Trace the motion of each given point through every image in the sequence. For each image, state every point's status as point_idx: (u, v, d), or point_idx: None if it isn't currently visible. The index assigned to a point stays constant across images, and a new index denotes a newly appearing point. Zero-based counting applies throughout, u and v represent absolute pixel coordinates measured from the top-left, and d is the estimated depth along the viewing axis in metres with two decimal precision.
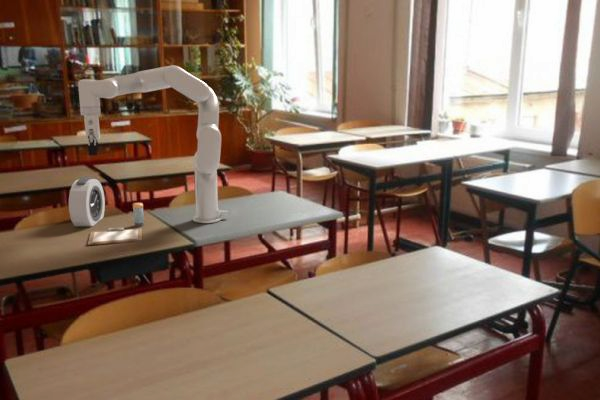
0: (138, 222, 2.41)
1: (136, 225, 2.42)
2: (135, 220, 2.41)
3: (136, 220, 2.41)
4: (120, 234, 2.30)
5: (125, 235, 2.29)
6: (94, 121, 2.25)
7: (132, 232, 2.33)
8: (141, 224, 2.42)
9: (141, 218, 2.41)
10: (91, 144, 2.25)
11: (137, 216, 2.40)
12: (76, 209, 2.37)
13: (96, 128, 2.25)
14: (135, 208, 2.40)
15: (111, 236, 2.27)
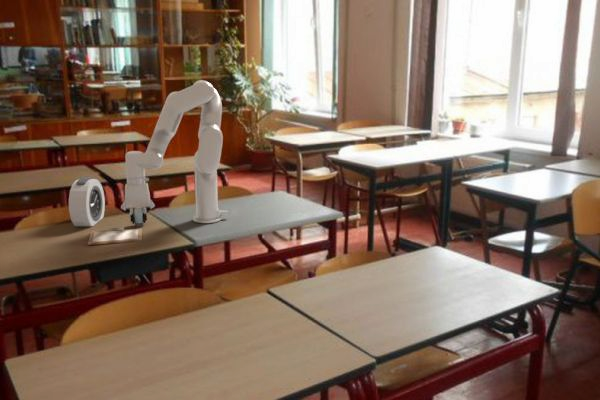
0: (138, 222, 2.41)
1: (136, 225, 2.42)
2: (135, 220, 2.41)
3: (136, 220, 2.41)
4: (120, 234, 2.30)
5: (125, 235, 2.29)
6: None
7: (132, 232, 2.33)
8: (141, 224, 2.42)
9: (141, 218, 2.41)
10: None
11: (137, 216, 2.40)
12: (76, 209, 2.37)
13: None
14: (135, 208, 2.40)
15: (111, 236, 2.27)
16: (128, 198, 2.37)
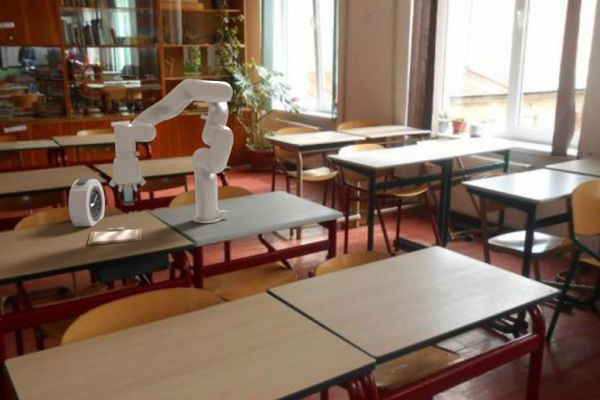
0: (128, 200, 2.25)
1: (126, 203, 2.25)
2: (124, 197, 2.25)
3: (125, 198, 2.25)
4: (120, 234, 2.30)
5: (125, 235, 2.29)
6: None
7: (132, 232, 2.33)
8: (131, 202, 2.26)
9: (131, 195, 2.25)
10: None
11: (127, 193, 2.24)
12: (76, 209, 2.37)
13: None
14: (124, 184, 2.23)
15: (111, 236, 2.27)
16: (116, 174, 2.21)
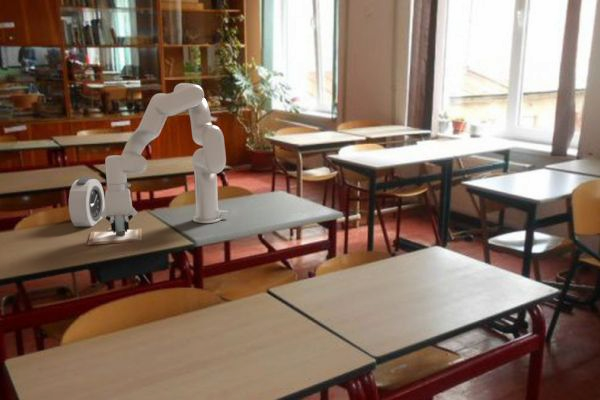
0: (119, 230, 2.27)
1: (117, 233, 2.27)
2: (116, 228, 2.27)
3: (117, 228, 2.27)
4: None
5: (125, 235, 2.29)
6: (130, 194, 2.28)
7: (132, 232, 2.33)
8: (122, 232, 2.28)
9: (122, 226, 2.27)
10: (129, 220, 2.29)
11: (118, 224, 2.26)
12: (76, 209, 2.37)
13: None
14: (116, 215, 2.25)
15: (111, 236, 2.27)
16: (108, 206, 2.23)
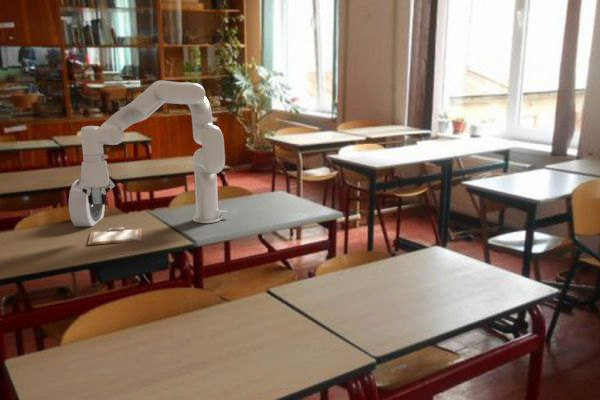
0: (96, 203, 2.22)
1: (95, 206, 2.23)
2: (93, 201, 2.22)
3: (94, 201, 2.22)
4: (120, 234, 2.30)
5: (125, 235, 2.29)
6: (107, 166, 2.23)
7: (132, 232, 2.33)
8: (100, 205, 2.23)
9: (99, 198, 2.22)
10: (106, 192, 2.24)
11: (95, 196, 2.21)
12: (76, 209, 2.37)
13: None
14: (93, 187, 2.21)
15: (111, 236, 2.27)
16: (84, 177, 2.18)
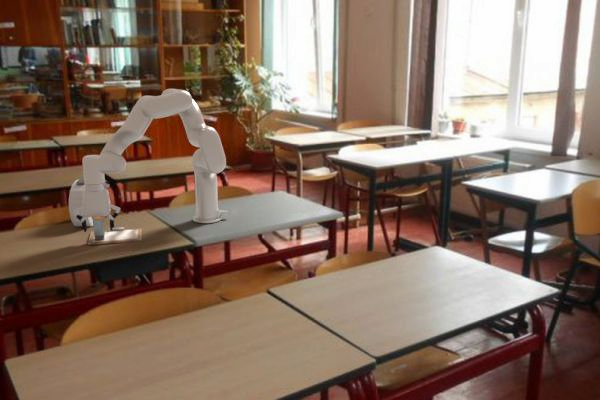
0: (98, 235, 2.21)
1: (96, 238, 2.22)
2: (95, 232, 2.21)
3: (95, 233, 2.21)
4: (120, 234, 2.30)
5: (125, 235, 2.29)
6: None
7: (132, 232, 2.33)
8: (101, 237, 2.22)
9: (101, 230, 2.21)
10: (114, 218, 2.23)
11: (97, 228, 2.20)
12: None
13: None
14: (94, 219, 2.20)
15: (111, 236, 2.27)
16: (85, 207, 2.17)
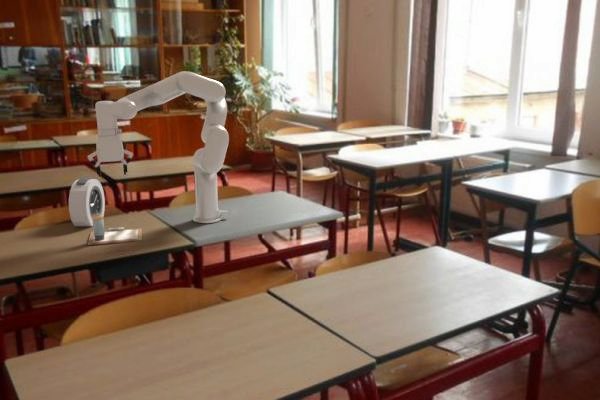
0: (98, 235, 2.21)
1: (96, 238, 2.22)
2: (95, 232, 2.21)
3: (95, 233, 2.21)
4: (120, 234, 2.30)
5: (125, 235, 2.29)
6: None
7: (132, 232, 2.33)
8: (101, 237, 2.22)
9: (101, 230, 2.21)
10: (128, 162, 2.30)
11: (97, 228, 2.20)
12: (76, 209, 2.37)
13: None
14: (94, 219, 2.20)
15: (111, 236, 2.27)
16: (100, 151, 2.24)
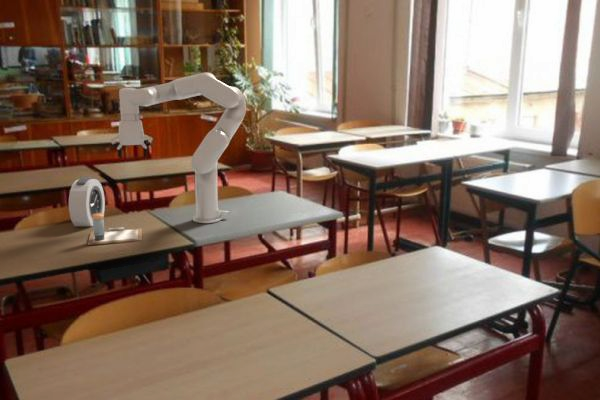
0: (98, 235, 2.21)
1: (96, 238, 2.22)
2: (95, 232, 2.21)
3: (95, 233, 2.21)
4: (120, 234, 2.30)
5: (125, 235, 2.29)
6: None
7: (132, 232, 2.33)
8: (101, 237, 2.22)
9: (101, 230, 2.21)
10: None
11: (97, 228, 2.20)
12: (76, 209, 2.37)
13: None
14: (94, 219, 2.20)
15: (111, 236, 2.27)
16: (121, 135, 2.39)
